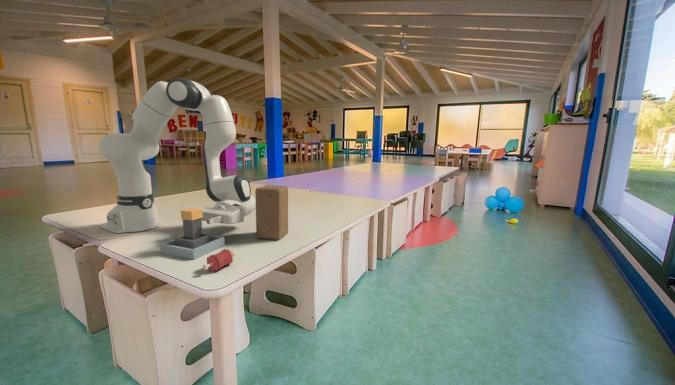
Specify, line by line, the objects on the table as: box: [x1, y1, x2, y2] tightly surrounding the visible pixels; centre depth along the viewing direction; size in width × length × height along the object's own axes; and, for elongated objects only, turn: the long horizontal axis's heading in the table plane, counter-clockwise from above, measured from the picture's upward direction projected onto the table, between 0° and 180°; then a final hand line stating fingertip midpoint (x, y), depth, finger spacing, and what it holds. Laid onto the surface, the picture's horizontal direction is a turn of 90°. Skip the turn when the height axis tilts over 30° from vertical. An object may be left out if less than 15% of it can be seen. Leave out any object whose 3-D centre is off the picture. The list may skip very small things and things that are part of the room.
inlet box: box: [159, 232, 226, 261], centre depth 97 cm, size 14×14×4 cm
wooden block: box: [255, 184, 289, 241], centre depth 112 cm, size 10×10×20 cm
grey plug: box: [180, 207, 203, 240], centre depth 96 cm, size 5×5×14 cm
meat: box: [202, 248, 236, 272], centre depth 84 cm, size 12×5×5 cm, turn 158°
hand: (197, 220), depth 98 cm, fingers open, 8 cm apart
